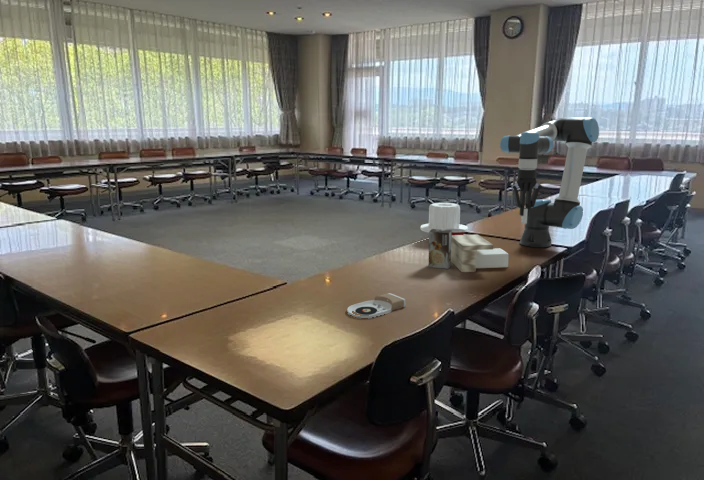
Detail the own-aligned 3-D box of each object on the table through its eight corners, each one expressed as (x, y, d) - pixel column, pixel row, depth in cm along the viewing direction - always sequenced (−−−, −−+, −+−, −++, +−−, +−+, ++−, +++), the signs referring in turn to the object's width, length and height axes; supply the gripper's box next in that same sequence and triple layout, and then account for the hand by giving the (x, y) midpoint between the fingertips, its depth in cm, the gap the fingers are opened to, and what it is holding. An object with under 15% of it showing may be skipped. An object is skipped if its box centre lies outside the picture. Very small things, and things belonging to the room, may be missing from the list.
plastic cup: (463, 250, 249) (464, 226, 246) (465, 256, 238) (466, 231, 236) (440, 250, 250) (441, 226, 247) (442, 256, 239) (443, 231, 237)
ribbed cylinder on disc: (415, 235, 284) (416, 201, 280) (458, 233, 287) (459, 200, 283) (426, 245, 260) (427, 209, 256) (473, 243, 263) (475, 207, 259)
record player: (408, 300, 173) (361, 314, 162) (407, 308, 174) (361, 323, 162) (386, 291, 182) (340, 303, 171) (386, 299, 183) (340, 312, 171)
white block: (499, 261, 230) (500, 248, 229) (507, 267, 220) (508, 253, 219) (465, 262, 229) (465, 249, 227) (472, 268, 219) (472, 254, 218)
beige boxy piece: (476, 258, 234) (477, 234, 232) (491, 271, 215) (493, 244, 212) (449, 259, 233) (449, 235, 230) (461, 272, 214) (462, 245, 211)
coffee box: (451, 265, 224) (452, 229, 220) (448, 269, 218) (449, 232, 215) (431, 263, 227) (432, 228, 224) (427, 267, 222) (428, 231, 218)
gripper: (538, 167, 220) (534, 221, 226) (509, 168, 219) (506, 221, 225) (546, 169, 213) (541, 224, 218) (516, 170, 212) (512, 225, 217)
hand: (523, 222), depth 222 cm, fingers closed
